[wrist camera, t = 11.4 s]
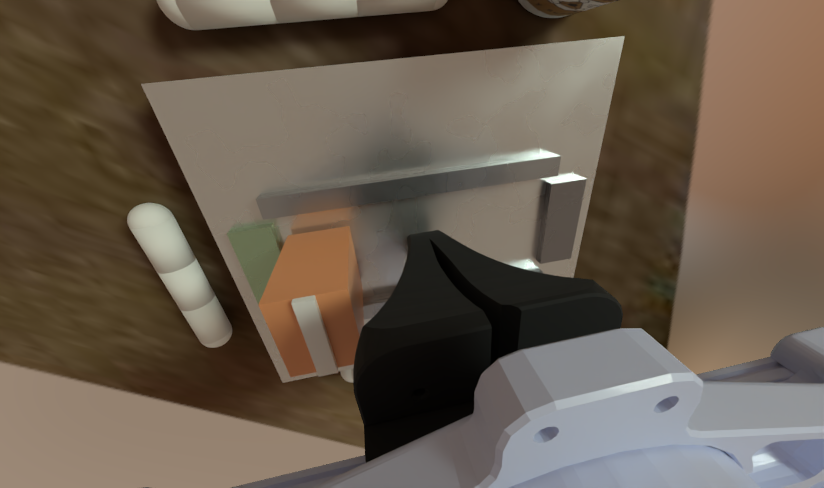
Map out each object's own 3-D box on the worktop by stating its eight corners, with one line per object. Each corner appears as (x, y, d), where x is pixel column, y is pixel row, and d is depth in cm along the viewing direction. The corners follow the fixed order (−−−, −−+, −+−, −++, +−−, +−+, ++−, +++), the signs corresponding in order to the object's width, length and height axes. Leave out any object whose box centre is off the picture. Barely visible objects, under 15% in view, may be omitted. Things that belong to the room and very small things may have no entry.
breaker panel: (548, 308, 19) (569, 332, 17) (287, 359, 17) (280, 393, 15) (595, 41, 12) (638, 33, 10) (167, 83, 10) (128, 84, 8)
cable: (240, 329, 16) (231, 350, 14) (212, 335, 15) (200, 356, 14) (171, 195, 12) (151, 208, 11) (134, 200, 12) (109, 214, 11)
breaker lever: (362, 285, 13) (366, 366, 10) (307, 295, 13) (289, 382, 9) (349, 225, 12) (347, 293, 8) (287, 235, 12) (255, 310, 8)
